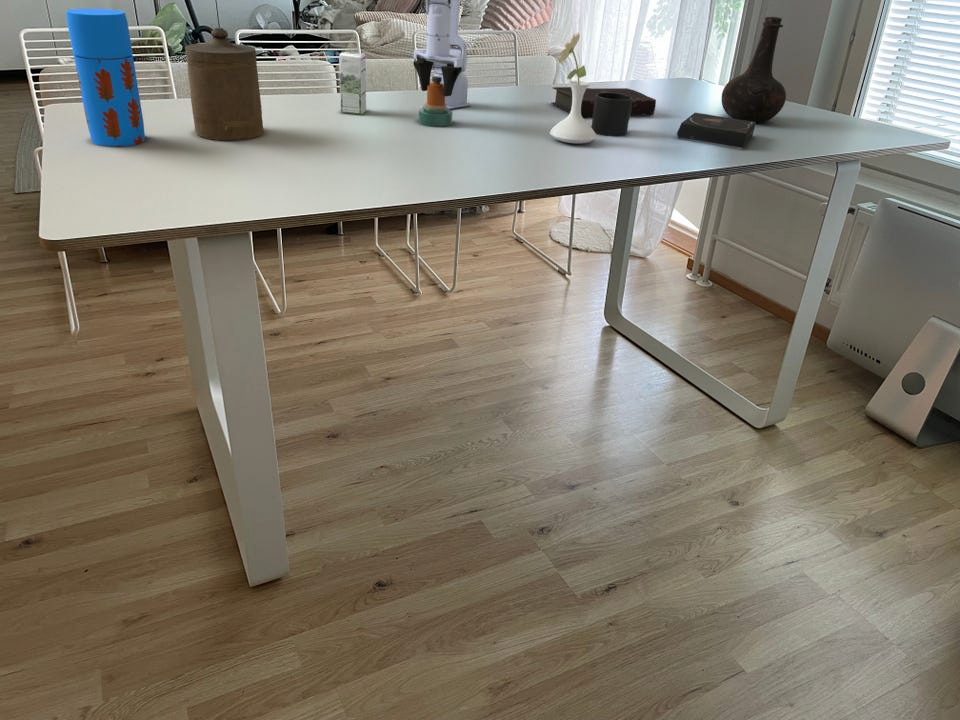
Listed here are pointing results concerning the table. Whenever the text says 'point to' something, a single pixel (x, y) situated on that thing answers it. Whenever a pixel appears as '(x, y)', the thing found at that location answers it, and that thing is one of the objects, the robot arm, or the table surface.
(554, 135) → the flower in vase
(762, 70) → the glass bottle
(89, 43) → the thermos
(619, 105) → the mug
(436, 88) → the amber bottle
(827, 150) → the table surface
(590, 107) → the diary
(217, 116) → the wooden container
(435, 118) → the green round container
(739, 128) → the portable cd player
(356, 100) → the syrup box
